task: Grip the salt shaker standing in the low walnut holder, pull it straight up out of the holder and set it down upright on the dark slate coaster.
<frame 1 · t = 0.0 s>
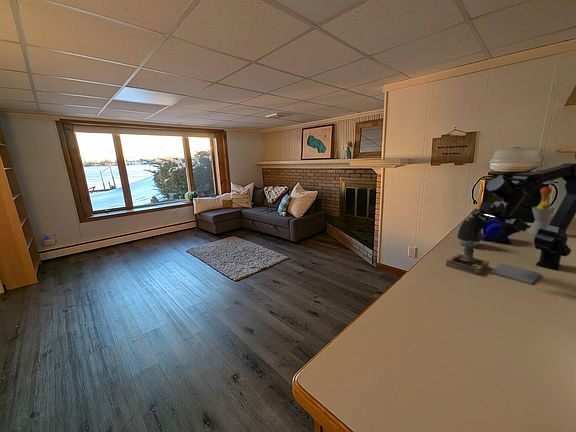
hand: (483, 237, 94), 15 cm above the worktop, tool tilted 35°, fingers open, 9 cm apart
slate coaster: (514, 274, 94), on the worktop
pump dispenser: (468, 245, 126), on the worktop
lava lamp: (537, 233, 138), on the worktop
alarm clock: (494, 240, 131), on the worktop
walnut holder: (466, 266, 102), on the worktop
salt shaker: (466, 266, 102), resting in walnut holder
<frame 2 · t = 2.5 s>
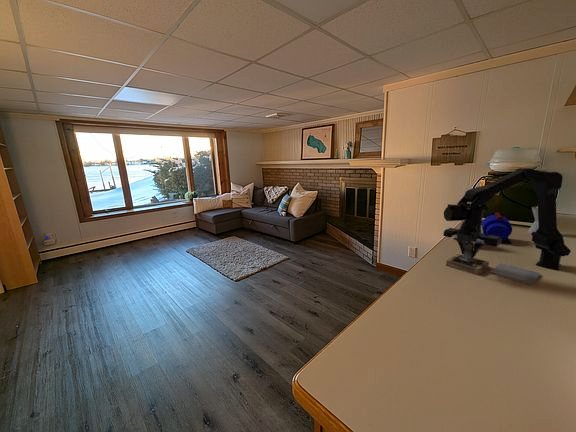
hand: (468, 255, 101), 5 cm above the worktop, tool pointing down, fingers closed on salt shaker, 3 cm apart
salt shaker: (466, 266, 102), resting in walnut holder, touching gripper
everything else where it was.
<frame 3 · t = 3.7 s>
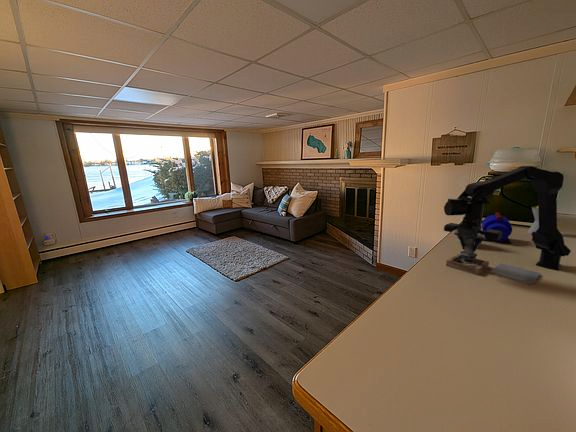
hand: (468, 250, 101), 7 cm above the worktop, tool pointing down, fingers closed on salt shaker, 3 cm apart
salt shaker: (467, 261, 102), point 2 cm above the worktop, touching gripper
everything else where it was.
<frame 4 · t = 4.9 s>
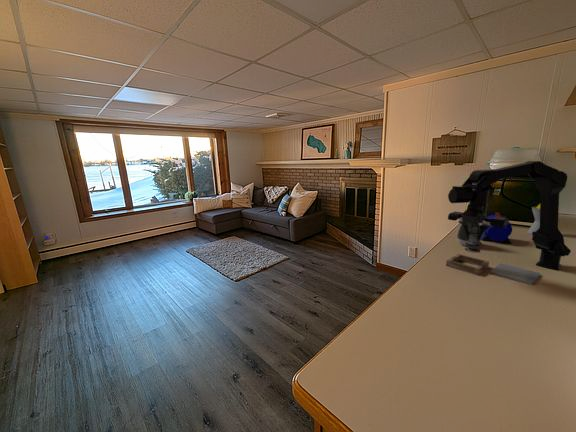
hand: (473, 238, 99), 13 cm above the worktop, tool pointing down, fingers closed on salt shaker, 3 cm apart
salt shaker: (472, 250, 100), point 7 cm above the worktop, touching gripper
everything else where it was.
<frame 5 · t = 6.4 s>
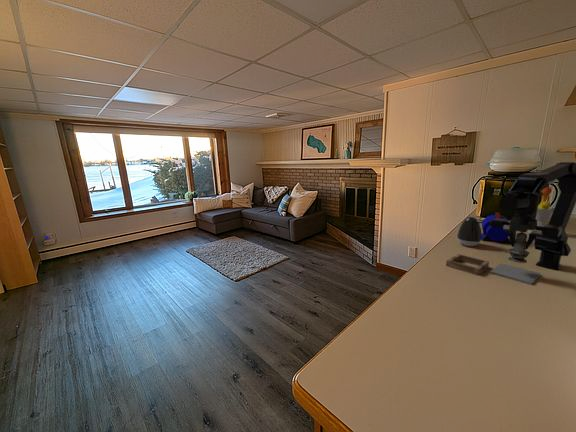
hand: (519, 247, 92), 11 cm above the worktop, tool pointing down, fingers closed on salt shaker, 3 cm apart
salt shaker: (517, 260, 93), point 6 cm above the worktop, touching gripper
everything else where it was.
when the fingers open (7 cm above the worktop, at t = 7.7 s): salt shaker drops 1 cm, resting on slate coaster.
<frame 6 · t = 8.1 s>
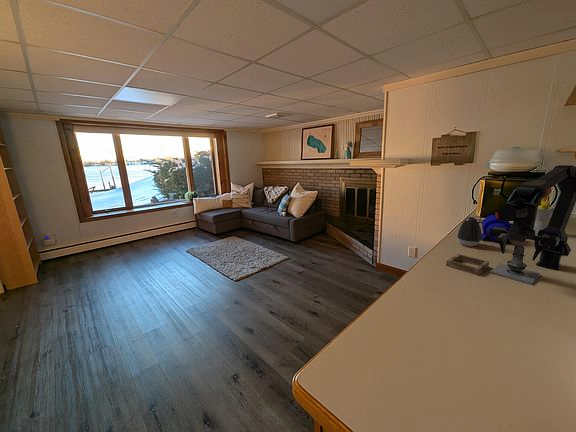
hand: (517, 256, 92), 7 cm above the worktop, tool pointing down, fingers open, 8 cm apart
salt shaker: (515, 272, 94), point 1 cm above the worktop, touching slate coaster
everything else where it was.
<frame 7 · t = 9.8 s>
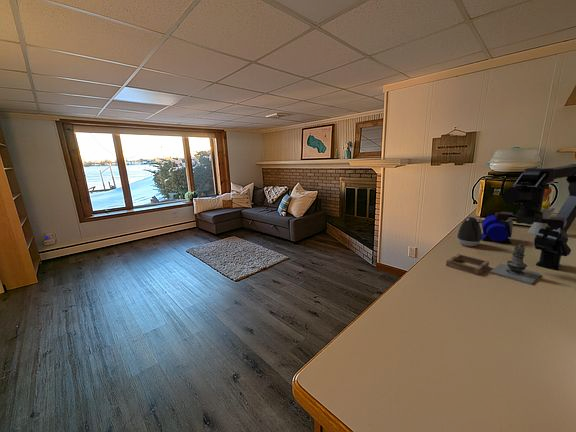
hand: (525, 240, 94), 13 cm above the worktop, tool pointing down, fingers open, 9 cm apart
nothing on the worktop moved.
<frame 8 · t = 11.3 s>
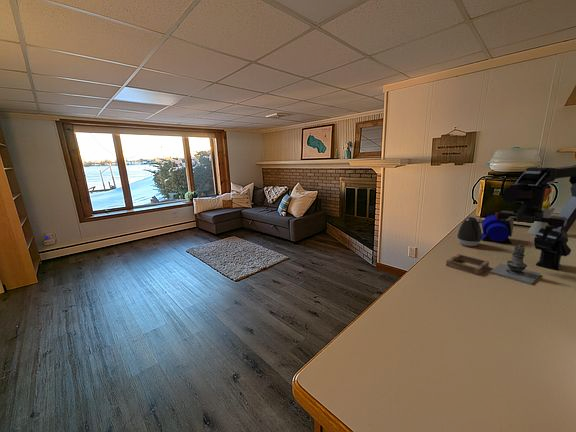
hand: (525, 239, 95), 13 cm above the worktop, tool pointing down, fingers open, 9 cm apart
nothing on the worktop moved.
at the end: salt shaker inside the target area on the slate coaster (0.1 cm from its centre), point 0.6 cm above the slate coaster's base; salt shaker tilted 0°; the gripper is holding nothing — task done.
